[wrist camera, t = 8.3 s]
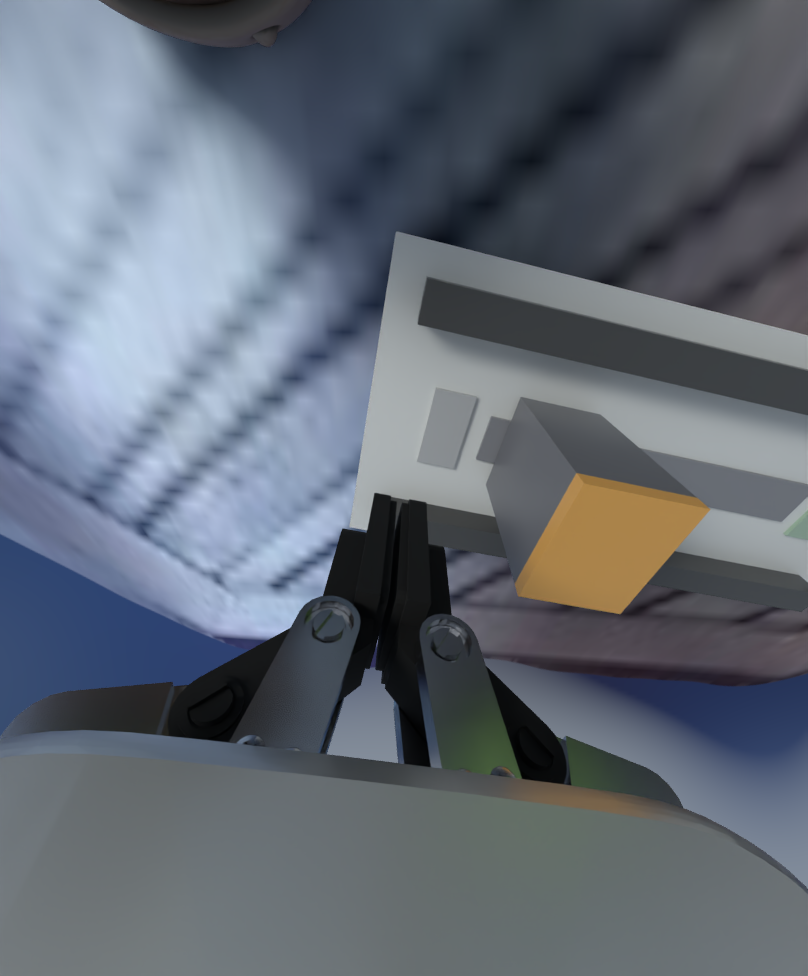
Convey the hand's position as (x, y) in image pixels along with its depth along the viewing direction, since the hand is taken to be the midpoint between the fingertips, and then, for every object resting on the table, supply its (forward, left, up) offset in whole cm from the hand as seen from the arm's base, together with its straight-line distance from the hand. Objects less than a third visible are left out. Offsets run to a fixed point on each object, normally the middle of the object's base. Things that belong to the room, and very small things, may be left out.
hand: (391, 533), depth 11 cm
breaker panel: (-1, +13, -11) cm, 17 cm away
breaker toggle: (-1, +7, -8) cm, 10 cm away
